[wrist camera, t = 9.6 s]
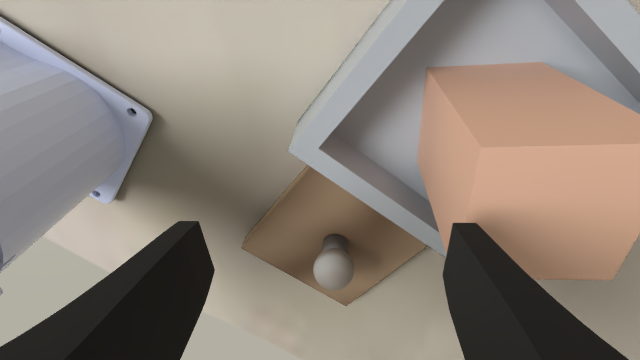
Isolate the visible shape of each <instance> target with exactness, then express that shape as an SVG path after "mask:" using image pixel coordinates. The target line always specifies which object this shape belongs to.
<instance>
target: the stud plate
mask: <svg viewBox="0 0 640 360" xmlns="http://www.w3.org/2000/svg"><path fill="white" fill-rule="evenodd" d="M426 246H427V245H426V244H425V243H423V242H422V241H420V240H419V239H417V238H416V237H414V236H413V235H411V234H410V233H408V232H407V231H405V230H404V229H403V228H401V227H400V226H398V225H397V224H395V223H394V222H392V221H391V220H389V219H388V218H386V217H385V216H383V215H382V214H380V213H379V212H377V211H376V210H374V209H373V208H371V207H370V206H368V205H367V204H365V203H364V202H362V201H361V200H359V199H358V198H356V197H355V196H354V195H352V194H351V193H349V192H348V191H346V190H345V189H343V188H342V187H340V186H339V185H337V184H336V183H334V182H333V181H331V180H330V179H328V178H327V177H325V176H324V175H322V174H321V173H319V172H318V171H316V170H315V169H313V168H312V167H310V166H309V165H307V166H306V167H305V169H304V170H303V171H302V172H301V173H300V174H299V176H298V177H297V178H296V179H295V180H294V181H293V183H292V184H291V185H290V186H289V187H288V188H287V190H286V191H285V192H284V193H283V194H282V195H281V197H280V198H279V199H278V200H277V201H276V202H275V204H274V205H273V206H272V207H271V208H270V209H269V211H268V212H267V213H266V214H265V215H264V216H263V218H262V219H261V220H260V221H259V222H258V223H257V225H256V226H255V227H254V228H253V229H252V230H251V232H250V233H249V234H248V235H247V236H246V237H245V240H244V242H243V245H242V247H241V248H242V249H244V250H246V251H248V252H249V253H251V254H253V255H255V256H257V257H258V258H260V259H262V260H264V261H266V262H267V263H269V264H271V265H273V266H275V267H276V268H278V269H280V270H282V271H284V272H285V273H287V274H289V275H291V276H293V277H294V278H296V279H298V280H300V281H302V282H303V283H305V284H307V285H309V286H311V287H312V288H314V289H316V290H318V291H320V292H321V293H323V294H325V295H327V296H329V297H330V298H332V299H334V300H336V301H337V302H339V303H341V304H343V305H345V306H347V305H348V304H350V303H351V302H353V301H354V300H355V299H357V298H358V297H359V296H361V295H362V294H363V293H365V292H366V291H367V290H369V289H370V288H371V287H373V286H374V285H375V284H377V283H378V282H379V281H381V280H382V279H383V278H385V277H386V276H387V275H389V274H390V273H391V272H393V271H394V270H395V269H397V268H398V267H399V266H401V265H402V264H403V263H405V262H406V261H407V260H409V259H410V258H411V257H413V256H414V255H415V254H417V253H418V252H419V251H421V250H422V249H423V248H425V247H426Z"/></svg>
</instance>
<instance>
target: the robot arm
mask: <svg viewBox="0 0 640 360" xmlns="http://www.w3.org/2000/svg"><path fill="white" fill-rule="evenodd" d="M0 30H1V31H0V273H1V272H2V271H3V270H4V269H5V268H6V267H7V266H9V265H10V264H11V263H12V262H13V261H14V260H15V259H16V258H18V257H19V256H20V255H21V254H22V253H23V252H24V251H25V250H27V249H28V248H29V247H30V246H31V245H32V244H33V243H35V242H36V241H37V240H38V239H39V238H40V237H41V236H43V235H44V234H45V233H46V232H47V231H48V230H49V229H50V228H52V227H53V226H54V225H55V224H56V223H57V222H58V221H60V220H61V219H62V218H63V217H64V216H65V215H66V214H67V213H69V212H70V211H71V210H72V209H73V208H74V207H75V206H77V205H78V204H79V203H80V202H81V201H82V200H83V199H84V198H86V197H87V196H88V195H89V196H91V197H93V198H95V199H97V200H99V201H101V202H103V203H107V204H108V203H111V202H112V201H113V200H114V199H115V197H116V195H117V193H118V190H119V188H120V186H121V184H122V182H123V180H124V178H125V176H126V174H127V172H128V170H129V168H130V166H131V164H132V161H133V159H134V157H135V155H136V153H137V151H138V149H139V147H140V145H141V143H142V141H143V139H144V137H145V134H146V132H147V130H148V128H149V126H150V124H151V122H152V119H153V117H152V114H151V112H150V111H149V110H148V109H146V108H145V107H143V106H142V105H140V104H138V103H137V102H135V101H134V100H132V99H131V98H129V97H127V96H126V95H124V94H123V93H121V92H119V91H118V90H116V89H115V88H113V87H111V86H110V85H108V84H107V83H105V82H104V81H102V80H100V79H99V78H97V77H96V76H94V75H92V74H91V73H89V72H88V71H86V70H84V69H83V68H81V67H80V66H78V65H77V64H75V63H73V62H72V61H70V60H69V59H67V58H65V57H64V56H62V55H61V54H59V53H57V52H56V51H54V50H53V49H51V48H49V47H48V46H46V45H45V44H43V43H42V42H40V41H38V40H37V39H35V38H34V37H32V36H30V35H29V34H27V33H26V32H24V31H22V30H21V29H19V28H18V27H16V26H15V25H13V24H11V23H10V22H8V21H7V20H5V19H3V18H2V17H0ZM131 108H132V109H134V110H135V111H136V113H137V114H134V113H133V112H132V111H131ZM97 191H98V192H99V193H98V192H97ZM214 271H215V270H214V267H213V264H212V260H211V257H210V254H209V251H208V248H207V245H206V242H205V239H204V236H203V233H202V230H201V227H200V224H199V221H179V222H177V223H176V224H174V225H173V226H171V227H170V228H169V229H167V230H166V231H165V232H163V233H162V234H161V235H160V236H158V237H157V238H156V239H154V240H153V241H152V242H151V243H149V244H148V245H147V246H146V247H144V248H143V249H142V250H141V251H139V252H138V253H137V254H135V255H134V256H133V257H132V258H130V259H129V260H128V261H126V262H125V263H124V264H123V265H121V266H120V267H119V268H117V269H116V270H115V271H114V272H112V273H111V274H109V275H108V276H107V277H105V278H104V279H103V280H101V281H100V282H98V283H97V284H96V285H94V286H93V287H92V288H90V289H89V290H88V291H86V292H85V293H83V294H82V295H81V296H79V297H78V298H76V299H75V300H74V301H72V302H71V303H69V304H68V305H66V306H65V307H63V308H62V309H61V310H59V311H57V312H56V313H54V314H53V315H51V316H50V317H49V318H47V319H45V320H44V321H42V322H41V323H39V324H37V325H36V326H34V327H33V328H31V329H30V330H28V331H26V332H25V333H23V334H21V335H20V336H18V337H17V338H15V339H13V340H12V341H10V342H8V343H6V344H4V345H3V346H1V347H0V360H180V358H181V356H182V354H183V352H184V350H185V347H186V345H187V343H188V341H189V338H190V336H191V334H192V332H193V330H194V327H195V325H196V323H197V320H198V318H199V316H200V314H201V311H202V309H203V306H204V304H205V301H206V298H207V295H208V292H209V289H210V285H211V282H212V278H213V275H214ZM443 279H444V285H445V290H446V296H447V300H448V305H449V310H450V314H451V317H452V320H453V323H454V326H455V330H456V333H457V336H458V339H459V342H460V345H461V348H462V351H463V355H464V358H465V360H629V359H627V358H626V357H625V356H623V355H622V354H621V353H620V352H618V351H617V350H616V349H614V348H613V347H612V346H610V345H609V344H608V343H607V342H605V341H604V340H603V339H601V338H600V337H599V336H598V335H596V334H595V333H594V332H593V331H591V330H590V329H589V328H588V327H587V326H585V325H584V324H583V323H582V322H581V321H579V320H578V319H577V318H576V317H575V316H574V315H572V314H571V313H570V312H569V311H568V310H567V309H566V308H564V307H563V306H562V305H561V304H560V303H559V302H557V301H556V300H555V299H554V298H553V297H552V296H551V295H550V294H548V293H547V292H546V291H545V290H544V289H543V288H542V287H541V286H540V285H539V284H538V283H537V282H536V281H534V280H533V279H532V278H531V277H530V276H529V275H528V274H527V273H526V272H525V271H524V270H523V269H522V268H521V267H520V266H519V265H518V264H517V263H516V262H515V261H514V260H513V259H512V258H511V257H510V256H509V255H508V254H507V253H506V252H505V251H504V250H503V249H502V248H501V247H500V246H499V245H498V244H497V243H496V242H495V241H494V240H493V239H492V238H491V237H490V236H489V235H488V234H487V233H486V232H485V231H484V230H483V229H482V228H481V227H480V226H479V225H478V224H477V223H453V224H452V230H451V235H450V240H449V245H448V250H447V255H446V261H445V266H444V271H443ZM2 293H3V290H2V289H1V288H0V295H1V294H2Z"/></svg>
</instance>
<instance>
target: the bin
mask: <svg viewBox="0 0 640 360" xmlns="http://www.w3.org/2000/svg"><path fill="white" fill-rule="evenodd" d="M528 62H543V63H545V64H547V65H549V66H551V67H552V68H554V69H556V70H558V71H560V72H562V73H564V74H565V75H567V76H569V77H571V78H573V79H575V80H577V81H578V82H580V83H582V84H584V85H586V86H588V87H590V88H592V89H593V90H595V91H597V92H599V93H601V94H603V95H605V96H606V97H608V98H610V99H612V100H614V101H616V102H618V103H620V104H621V105H623V106H625V107H627V108H629V109H631V110H633V111H634V112H636V113H638V114H640V15H639V14H638V13H637V11H636V10H635V9H634V8H633V7H632V5H631V4H630V3H629V2H628V0H391V1H390V2H389V3H388V5H387V6H386V7H385V8H384V10H383V11H382V12H381V14H380V15H379V16H378V18H377V19H376V20H375V22H374V23H373V24H372V25H371V27H370V28H369V29H368V31H367V32H366V33H365V35H364V36H363V37H362V38H361V40H360V41H359V42H358V44H357V45H356V46H355V48H354V49H353V50H352V52H351V53H350V54H349V55H348V57H347V58H346V59H345V61H344V62H343V63H342V65H341V66H340V67H339V69H338V70H337V71H336V72H335V74H334V75H333V76H332V78H331V79H330V80H329V82H328V83H327V84H326V85H325V87H324V88H323V89H322V91H321V92H320V93H319V95H318V96H317V97H316V99H315V100H314V101H313V102H312V104H311V105H310V106H309V108H308V109H307V110H306V112H305V113H304V114H303V116H302V117H301V118H300V119H299V121H298V123H297V126H296V129H295V132H294V135H293V138H292V141H291V144H290V146H289V149H288V152H290V153H291V154H293V155H294V156H296V157H297V158H299V159H300V160H302V161H303V162H304V163H306V164H307V165H309V166H310V167H312V168H313V169H315V170H316V171H318V172H319V173H321V174H322V175H324V176H325V177H327V178H328V179H330V180H331V181H333V182H334V183H336V184H337V185H339V186H340V187H342V188H343V189H345V190H346V191H348V192H349V193H351V194H352V195H354V196H355V197H356V198H358V199H359V200H361V201H362V202H364V203H365V204H367V205H368V206H370V207H371V208H373V209H374V210H376V211H377V212H379V213H380V214H382V215H383V216H385V217H386V218H388V219H389V220H391V221H392V222H394V223H395V224H397V225H398V226H400V227H401V228H403V229H404V230H405V231H407V232H408V233H410V234H411V235H413V236H414V237H416V238H417V239H419V240H420V241H422V242H423V243H425V244H426V245H428V246H429V247H431V248H432V249H434V250H435V251H437V252H438V253H440V254H441V255H443V256H444V257H446V252H445V248H444V245H443V242H442V239H441V236H440V233H439V229H438V226H437V223H436V220H435V217H434V214H433V210H432V207H431V204H430V201H429V198H428V195H427V191H426V188H425V185H424V182H423V179H422V176H421V172H420V169H419V166H418V163H417V157H418V147H419V137H420V127H421V116H422V106H423V96H424V86H425V75H426V67H444V66H465V65H486V64H507V63H528Z"/></svg>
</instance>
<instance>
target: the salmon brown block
mask: <svg viewBox="0 0 640 360" xmlns="http://www.w3.org/2000/svg"><path fill="white" fill-rule="evenodd" d="M417 163H418V166H419V169H420V172H421V176H422V179H423V182H424V185H425V188H426V191H427V195H428V198H429V201H430V204H431V207H432V210H433V214H434V217H435V220H436V223H437V226H438V229H439V233H440V236H441V239H442V242H443V245H444V248H445V252H446V255H447V250H448V245H449V240H450V235H451V230H452V224H453V223H477V224H478V225H479V226H480V227H481V228H482V229H483V230H484V231H485V232H486V233H487V234H488V235H489V236H490V237H491V238H492V239H493V240H494V241H495V242H496V243H497V244H498V245H499V246H500V247H501V248H502V249H503V250H504V251H505V252H506V253H507V254H508V255H509V256H510V257H511V258H512V259H513V260H514V261H515V262H516V263H517V264H518V265H519V266H520V267H521V268H522V269H523V270H524V271H525V272H526V273H527V274H528V275H529V276H530V277H531V278H532V279H563V280H613V279H614V277H615V275H616V273H617V272H618V270H619V268H620V266H621V265H622V263H623V261H624V260H625V258H626V256H627V254H628V253H629V251H630V249H631V248H632V246H633V244H634V242H635V241H636V239H637V237H638V236H639V234H640V114H638V113H636V112H634V111H633V110H631V109H629V108H627V107H625V106H623V105H621V104H620V103H618V102H616V101H614V100H612V99H610V98H608V97H606V96H605V95H603V94H601V93H599V92H597V91H595V90H593V89H592V88H590V87H588V86H586V85H584V84H582V83H580V82H578V81H577V80H575V79H573V78H571V77H569V76H567V75H565V74H564V73H562V72H560V71H558V70H556V69H554V68H552V67H551V66H549V65H547V64H545V63H543V62H528V63H507V64H486V65H465V66H444V67H426V75H425V86H424V96H423V106H422V116H421V127H420V137H419V147H418V157H417Z"/></svg>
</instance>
